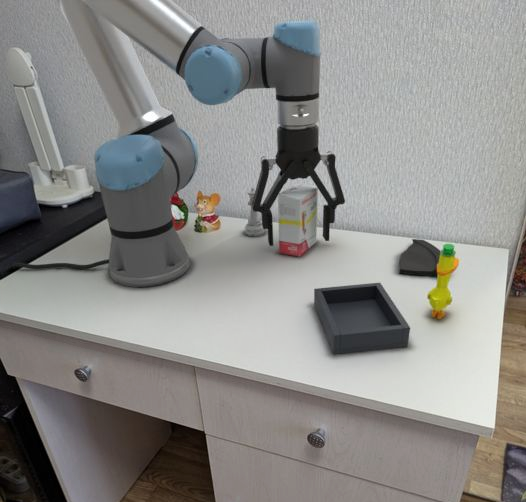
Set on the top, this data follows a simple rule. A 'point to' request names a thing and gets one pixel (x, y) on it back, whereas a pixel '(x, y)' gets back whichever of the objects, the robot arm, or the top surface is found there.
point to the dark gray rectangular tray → (360, 318)
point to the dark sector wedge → (420, 259)
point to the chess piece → (253, 219)
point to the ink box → (297, 219)
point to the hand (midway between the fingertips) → (298, 240)
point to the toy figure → (443, 281)
